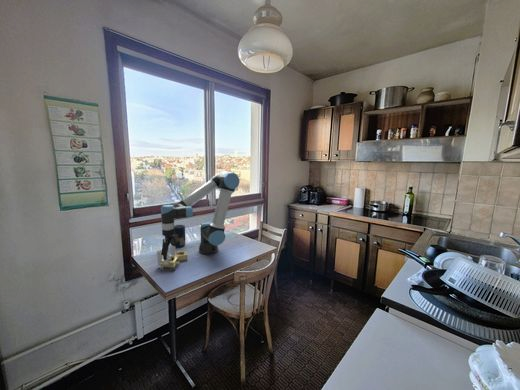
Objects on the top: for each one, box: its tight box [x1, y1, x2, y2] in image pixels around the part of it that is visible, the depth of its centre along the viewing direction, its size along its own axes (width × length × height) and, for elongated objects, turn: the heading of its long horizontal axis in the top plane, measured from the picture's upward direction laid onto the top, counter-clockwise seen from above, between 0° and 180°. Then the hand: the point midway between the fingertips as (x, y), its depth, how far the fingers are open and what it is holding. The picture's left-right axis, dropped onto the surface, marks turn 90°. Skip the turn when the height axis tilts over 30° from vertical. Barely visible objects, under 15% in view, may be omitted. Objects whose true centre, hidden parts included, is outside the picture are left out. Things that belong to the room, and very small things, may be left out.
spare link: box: [173, 250, 188, 262], centre depth 161 cm, size 8×8×4 cm
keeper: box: [156, 249, 181, 272], centre depth 147 cm, size 12×10×12 cm
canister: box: [174, 224, 186, 248], centre depth 184 cm, size 10×10×18 cm
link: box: [160, 255, 178, 268], centre depth 147 cm, size 8×8×4 cm
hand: (170, 259), depth 147 cm, fingers open, 13 cm apart
